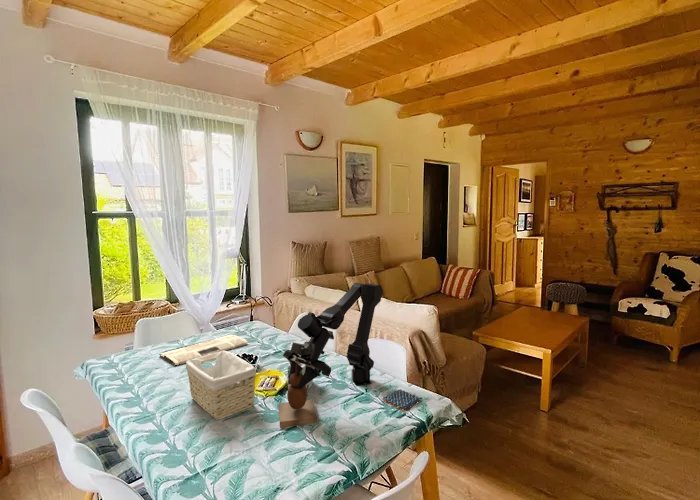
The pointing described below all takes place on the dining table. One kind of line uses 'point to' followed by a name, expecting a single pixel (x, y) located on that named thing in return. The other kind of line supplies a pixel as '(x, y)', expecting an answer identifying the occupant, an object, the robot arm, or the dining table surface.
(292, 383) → the wooden figurine
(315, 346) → the robot arm
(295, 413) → the light brown wooden stand
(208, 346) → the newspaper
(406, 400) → the woven mat
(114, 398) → the dining table surface
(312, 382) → the light bulb box
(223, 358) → the storage basket
